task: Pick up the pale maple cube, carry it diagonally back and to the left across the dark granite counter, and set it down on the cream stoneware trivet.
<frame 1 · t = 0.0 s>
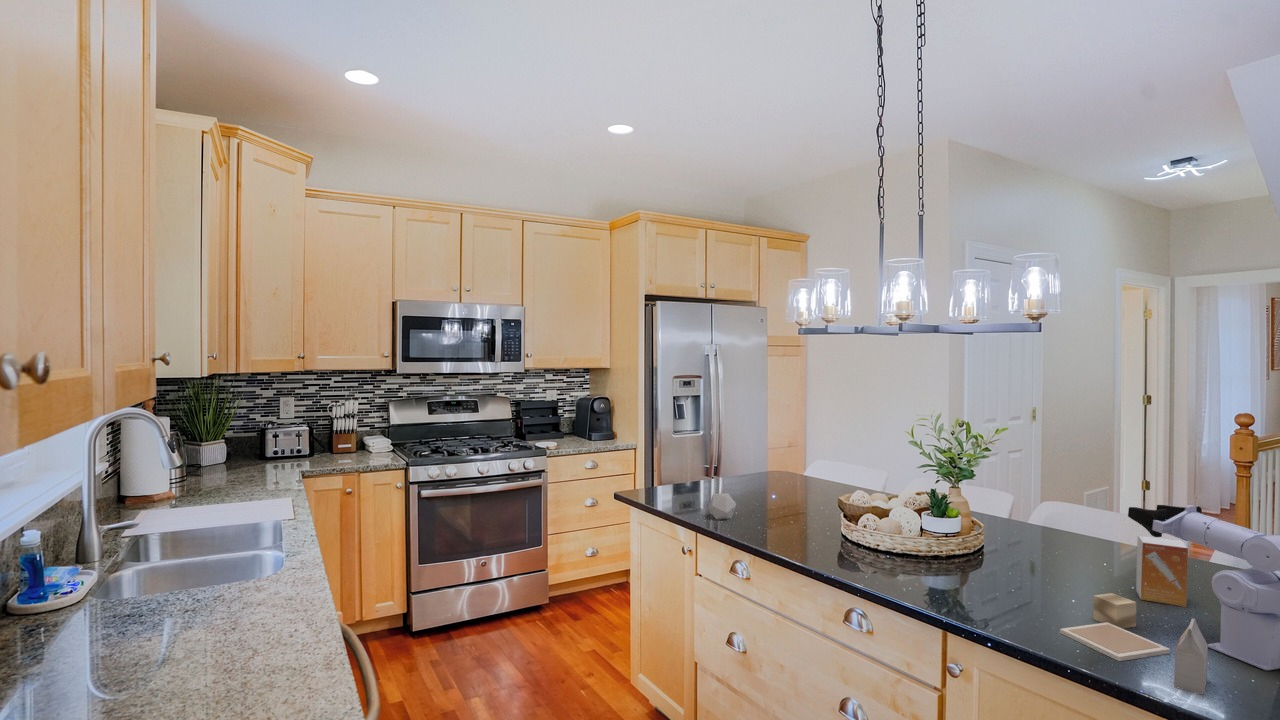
hand: (1143, 510, 137), 22 cm above the worktop, tool horizontal, fingers open, 7 cm apart
trivet: (1112, 642, 124), on the worktop
die: (722, 518, 213), on the worktop
small box: (1160, 600, 145), on the worktop
maple cube: (1114, 623, 133), on the worktop
beige gable-top carton: (1190, 684, 109), on the worktop
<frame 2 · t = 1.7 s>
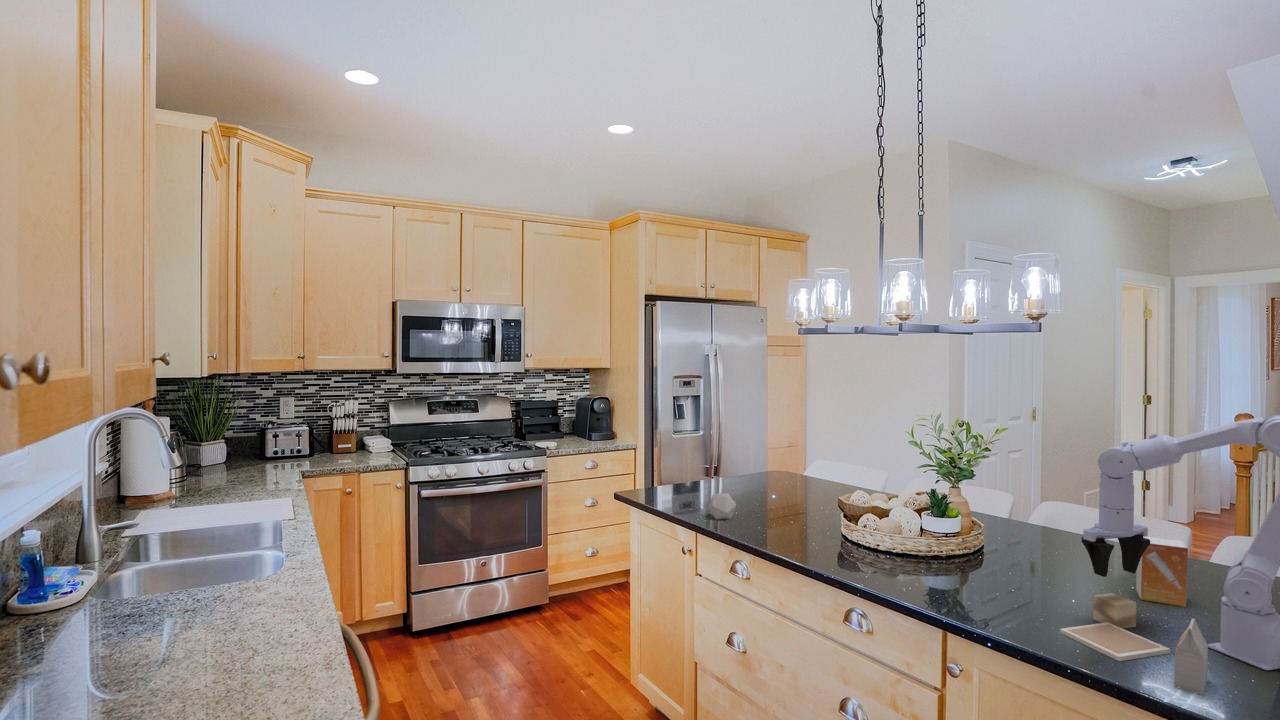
hand: (1115, 573, 133), 10 cm above the worktop, tool pointing down, fingers open, 7 cm apart
nothing on the worktop moved.
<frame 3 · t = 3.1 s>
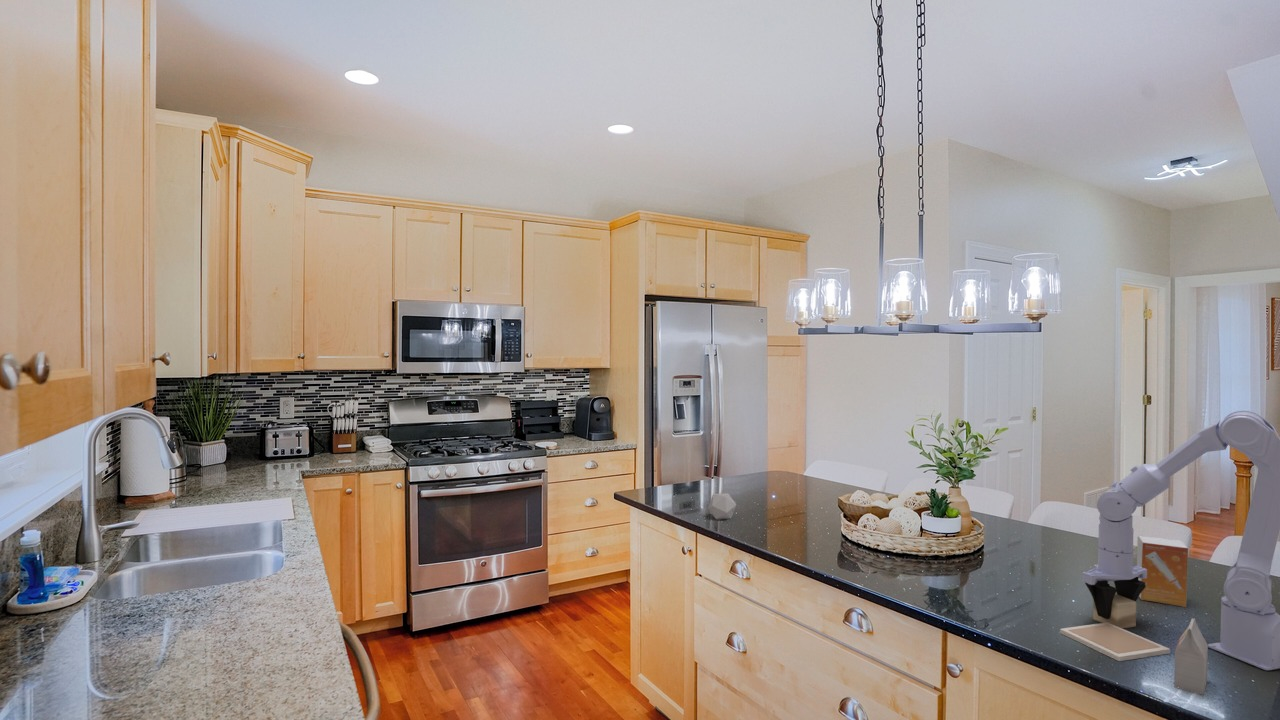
hand: (1114, 615, 133), 1 cm above the worktop, tool pointing down, fingers closed on maple cube, 5 cm apart
maple cube: (1114, 622, 133), on the worktop, touching gripper
everything else where it was.
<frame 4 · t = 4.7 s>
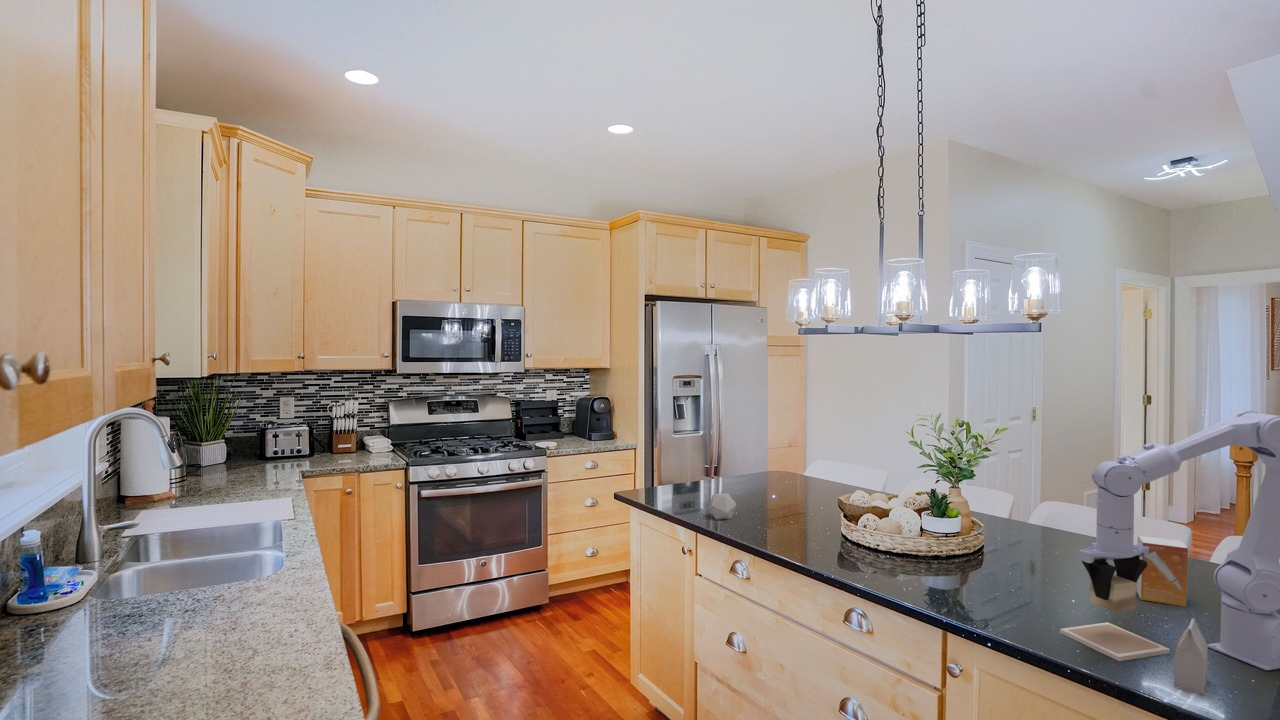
hand: (1113, 596, 124), 8 cm above the worktop, tool pointing down, fingers closed on maple cube, 5 cm apart
maple cube: (1112, 605, 125), point 7 cm above the worktop, touching gripper
everything else where it was.
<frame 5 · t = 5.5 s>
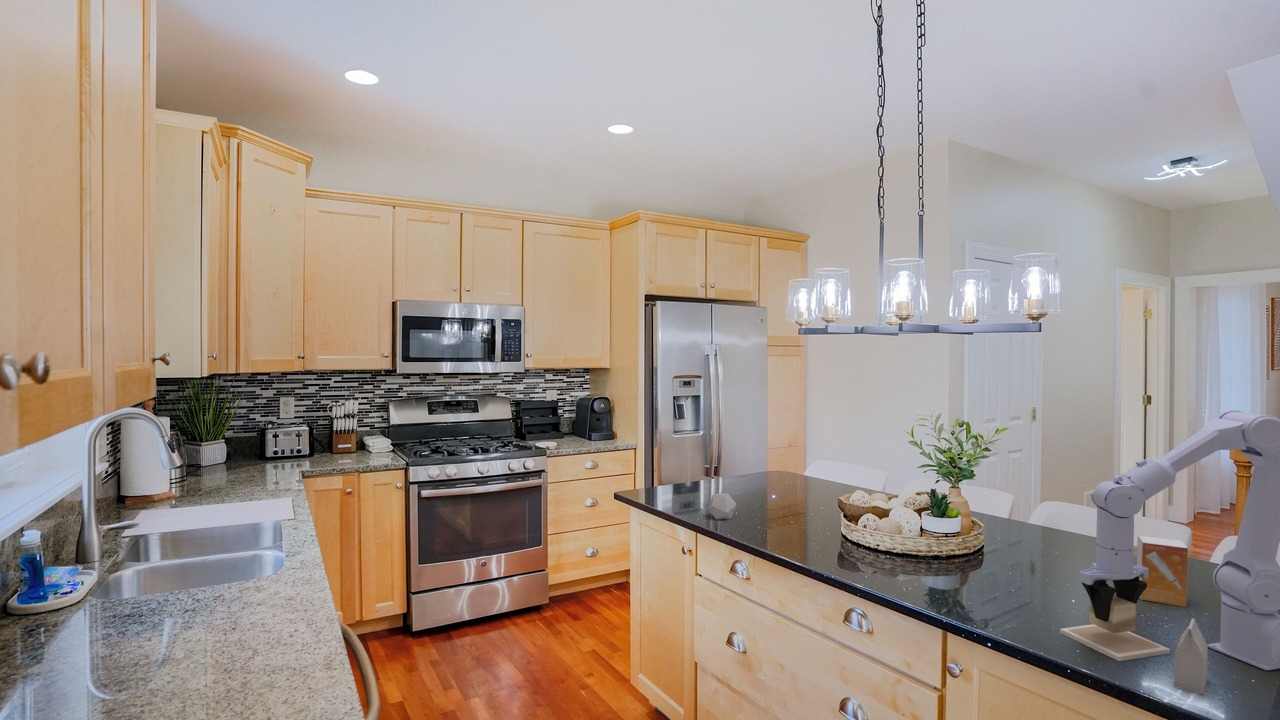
hand: (1113, 618, 124), 5 cm above the worktop, tool pointing down, fingers closed on maple cube, 5 cm apart
maple cube: (1112, 626, 124), point 3 cm above the worktop, touching gripper
everything else where it was.
when the fingers open (3 cm above the worktop, at t = 6.3 s): maple cube stays where it is, resting on trivet.
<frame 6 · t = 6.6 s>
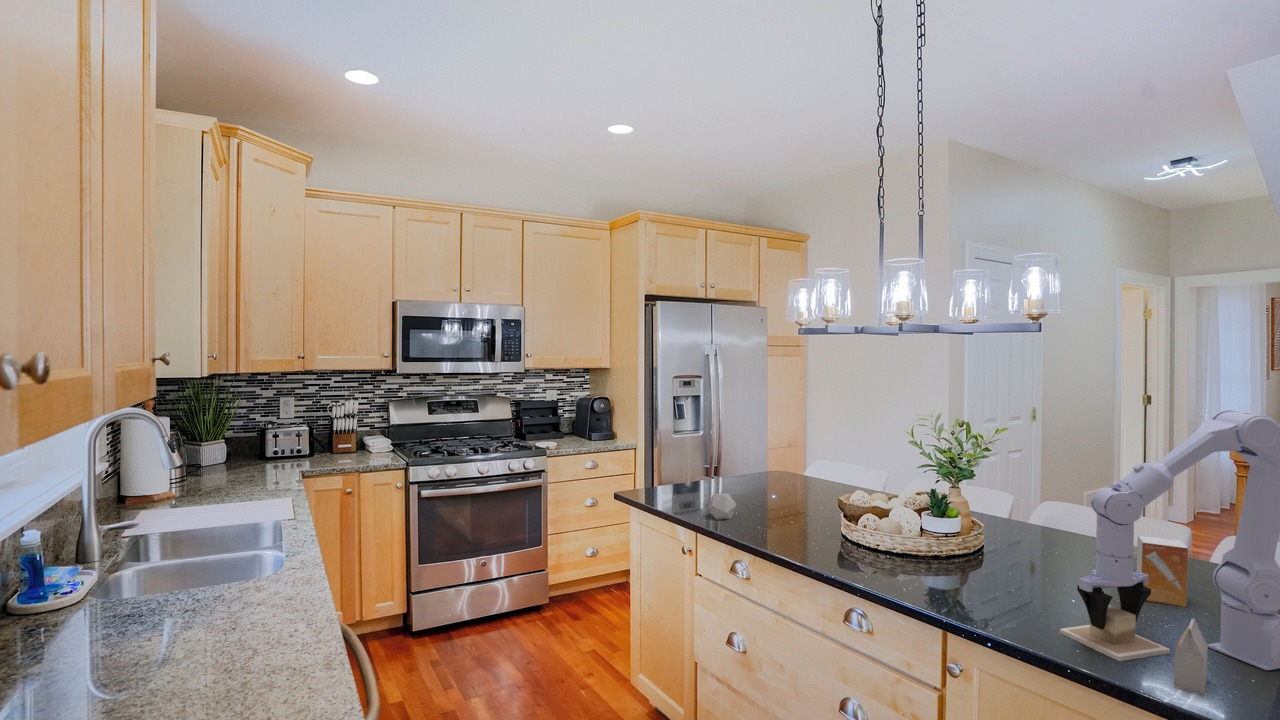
hand: (1113, 624, 124), 3 cm above the worktop, tool pointing down, fingers open, 7 cm apart
maple cube: (1112, 637, 124), point 1 cm above the worktop, touching trivet
everything else where it was.
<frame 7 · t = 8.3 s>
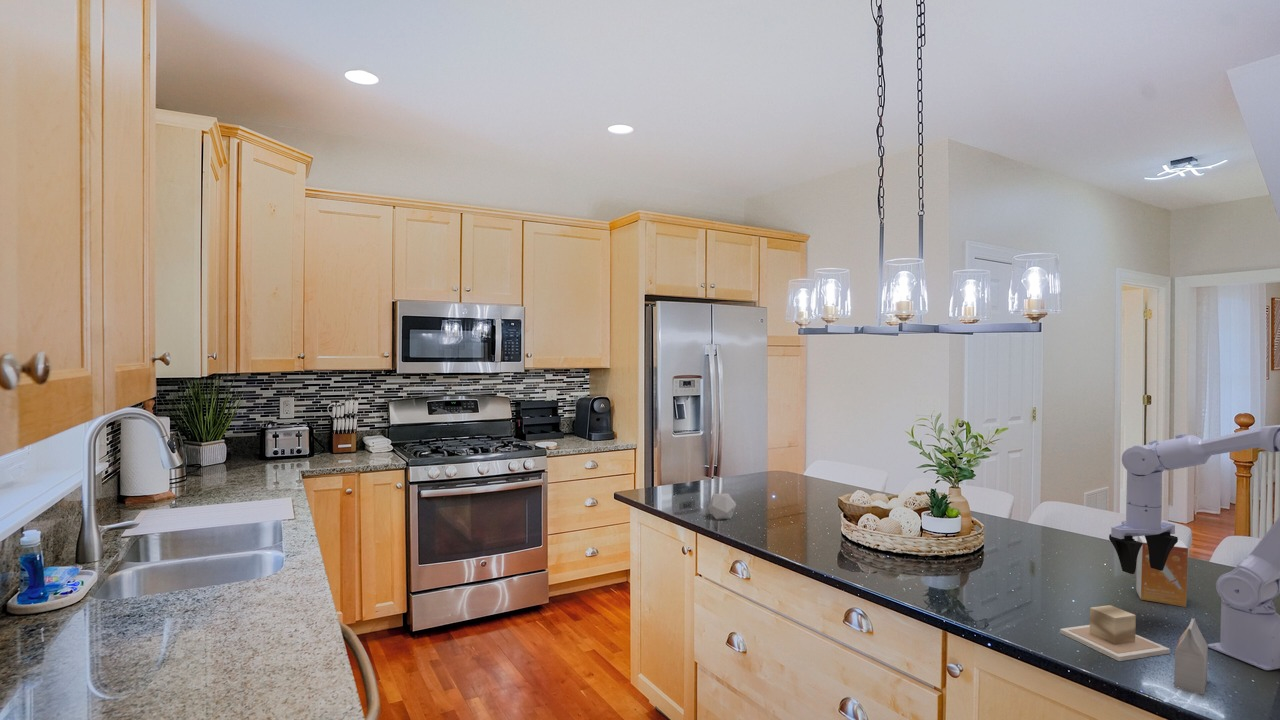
hand: (1142, 570, 133), 10 cm above the worktop, tool pointing down, fingers open, 7 cm apart
nothing on the worktop moved.
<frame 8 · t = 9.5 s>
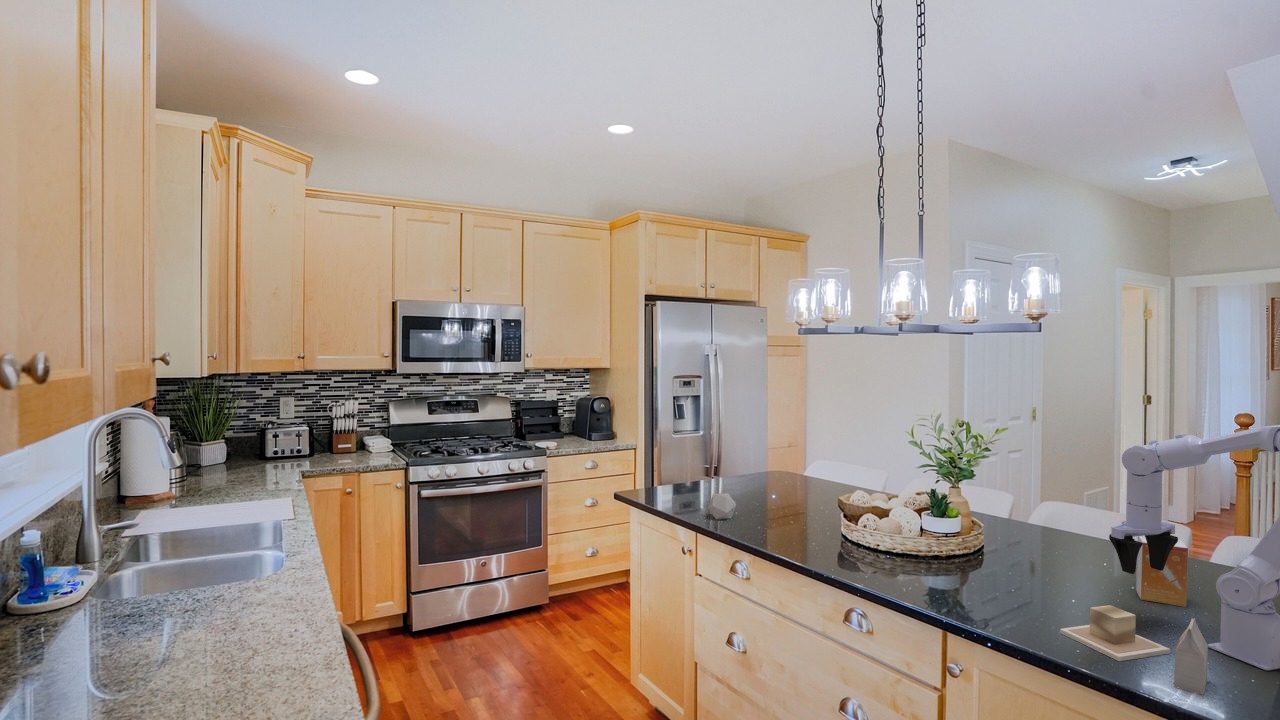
hand: (1142, 570, 133), 10 cm above the worktop, tool pointing down, fingers open, 7 cm apart
nothing on the worktop moved.
at the end: maple cube inside the target area on the trivet (0.2 cm from its centre), point 0.9 cm above the trivet's base; maple cube tilted 0°; the gripper is holding nothing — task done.
